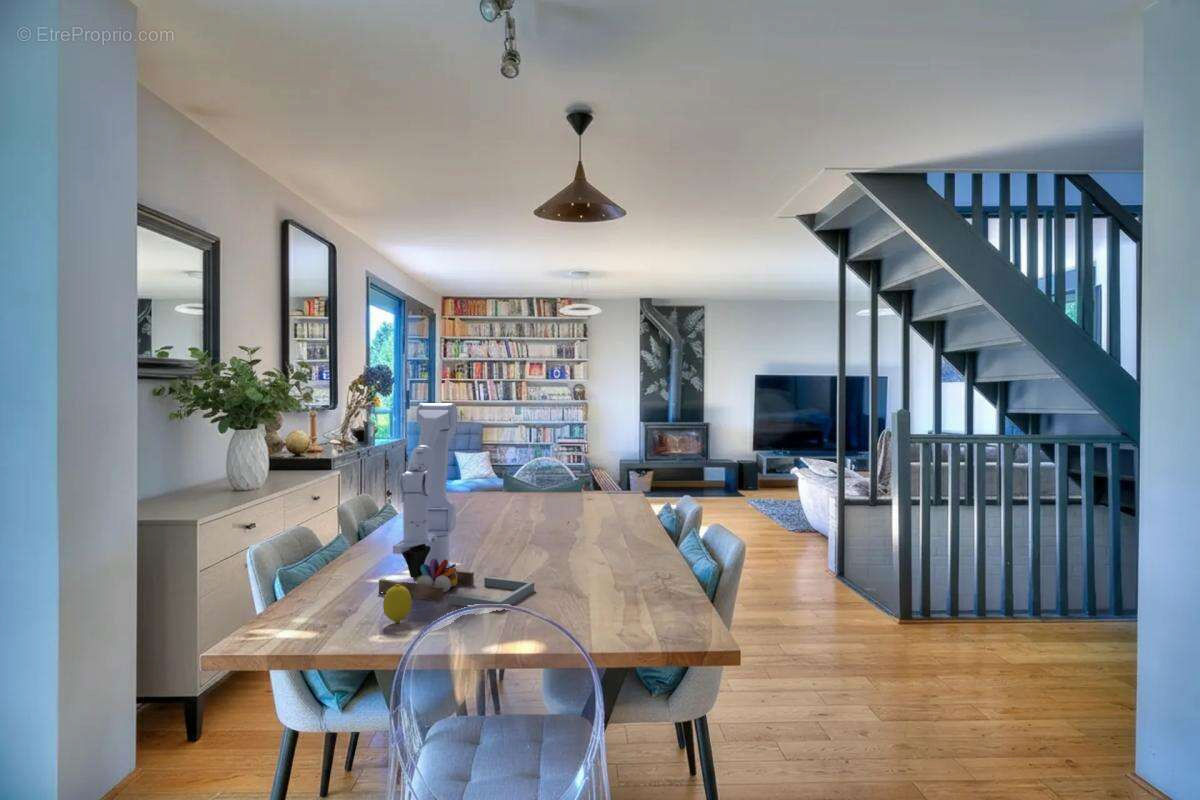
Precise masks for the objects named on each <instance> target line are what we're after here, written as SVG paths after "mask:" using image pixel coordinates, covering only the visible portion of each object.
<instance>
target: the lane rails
mask: <svg viewBox="0 0 1200 800" xmlns="http://www.w3.org/2000/svg"><path fill="white" fill-rule="evenodd" d="M449 569H450V568H447V569H445V570H449ZM456 574H457V584H456V585H462V586H464V585H465V586H474V584H475V581H474V580H475V578H474V575H475V574H474V571H473V572H472V571H468V570H467V571H466V570H465V571H464V570H459V569H458V570H457V569H456ZM421 575H423V574H421ZM396 584H399V585H401V586H404V587H405V588H407V589H408V591H409V593H410V595H411V598H412V597H413V598H414V599H422V600H426V601H427V600H429V601H435V602H442V601H443V600H444V593H443V587H440V586H432V585H425V584H417V582H416V583H415V582H407V581H399V580H394V579H393V580H392V579H385V578H380V579H378V593H379V592H383V593H382V594H384V593H386V592H387V591H388V590H389V589H390V588H391V587H393V586H395V585H396Z"/></svg>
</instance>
